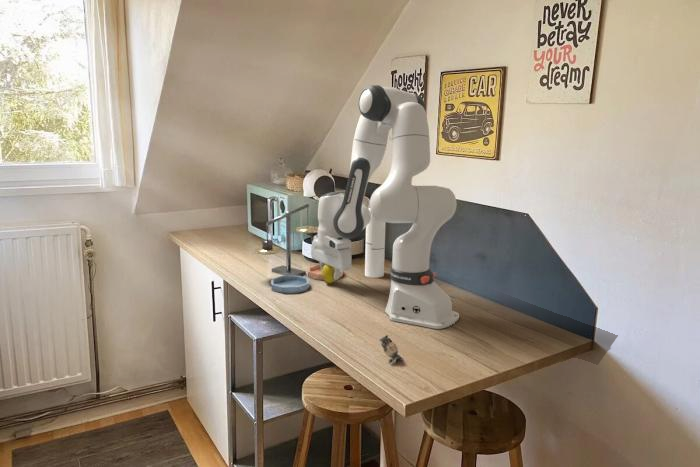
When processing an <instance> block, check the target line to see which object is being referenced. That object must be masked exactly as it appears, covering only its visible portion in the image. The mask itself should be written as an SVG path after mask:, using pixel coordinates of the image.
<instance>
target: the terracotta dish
mask: <svg viewBox="0 0 700 467" xmlns="http://www.w3.org/2000/svg"><path fill="white" fill-rule="evenodd" d="M306 270H307V271H306V273H307V278H308V277H309V278H310V279H312V280H318V281H325V280H324V279H323V276H322V273H321V267H320V264H315V265H312V266H308V267H307V269H306ZM343 275H344V271H341V272H340V274H339V279H340V278H342V277H343Z"/></svg>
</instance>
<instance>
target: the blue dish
mask: <svg viewBox="0 0 700 467" xmlns="http://www.w3.org/2000/svg"><path fill="white" fill-rule="evenodd" d="M309 288H310V280H309V278H308V277H303V276H286V275H281V276H277V277H274V278H272V279H270V289H271V290H272V291H274V293H275V292H276V293H280V294H287V295H288V294H300V293H303V292H307V290H309Z"/></svg>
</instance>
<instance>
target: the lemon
mask: <svg viewBox="0 0 700 467" xmlns="http://www.w3.org/2000/svg"><path fill="white" fill-rule="evenodd" d="M334 272H335V270H334V267H331V266H329V265H327V264H325V265H324V267H323V270H322V276H323V279H324V280H323V281H325V282H326V283H328V284H332V283H333V282H335V281H336V280H335V279H333V278H332V277H333V276H332V274H334Z"/></svg>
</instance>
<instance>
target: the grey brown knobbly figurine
mask: <svg viewBox="0 0 700 467" xmlns="http://www.w3.org/2000/svg"><path fill="white" fill-rule="evenodd" d="M379 342H381V344H380V345H381V347H382V348H383V352H384V354H385V355H386V356H387V357H389V358H391V362H390V366H392V365H393V364H396V361H397V360H400V361H403V360H404V357H403V356H405V354H403V355H401V354H399V350H398V349H399V347H398V346H397V344H396V343H395V342H393V340H392V339H391V338H390V337H389V335H388V334H385V336H383V337H381V338H380V339H379Z"/></svg>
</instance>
